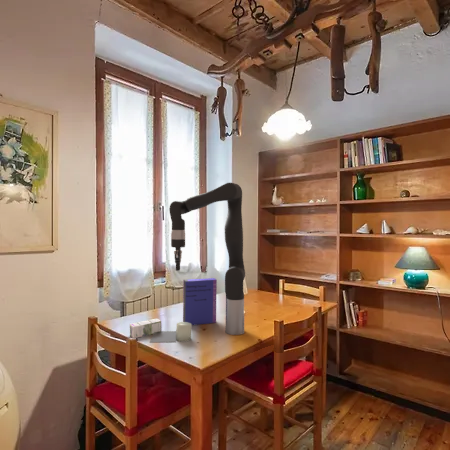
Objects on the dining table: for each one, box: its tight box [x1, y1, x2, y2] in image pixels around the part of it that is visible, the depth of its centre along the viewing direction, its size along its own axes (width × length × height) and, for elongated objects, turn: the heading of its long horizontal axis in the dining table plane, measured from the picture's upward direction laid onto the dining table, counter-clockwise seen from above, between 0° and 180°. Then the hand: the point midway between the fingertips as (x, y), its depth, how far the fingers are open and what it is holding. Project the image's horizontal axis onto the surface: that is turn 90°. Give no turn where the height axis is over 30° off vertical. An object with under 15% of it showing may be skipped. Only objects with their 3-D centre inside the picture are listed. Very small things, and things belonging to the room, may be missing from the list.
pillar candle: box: [175, 321, 193, 343], centre depth 162 cm, size 7×7×7 cm
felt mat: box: [149, 330, 178, 343], centre depth 164 cm, size 12×15×1 cm
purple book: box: [182, 277, 218, 326], centre depth 187 cm, size 17×5×24 cm, turn 111°
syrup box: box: [129, 318, 162, 339], centre depth 168 cm, size 6×6×14 cm
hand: (177, 270), depth 185 cm, fingers closed
